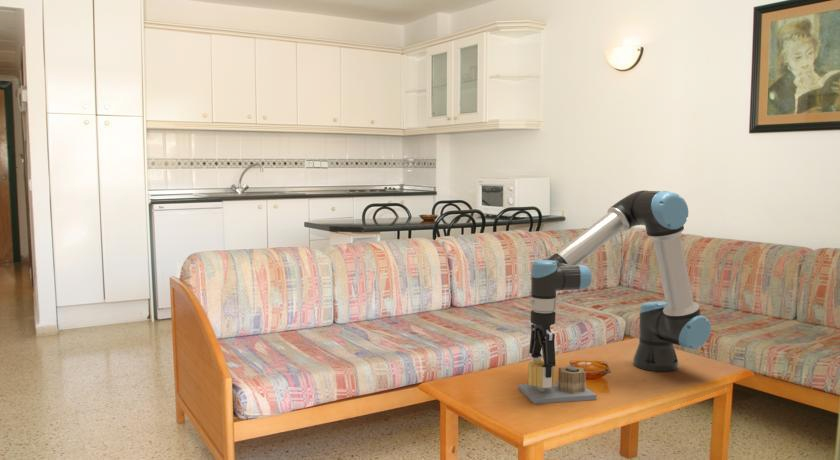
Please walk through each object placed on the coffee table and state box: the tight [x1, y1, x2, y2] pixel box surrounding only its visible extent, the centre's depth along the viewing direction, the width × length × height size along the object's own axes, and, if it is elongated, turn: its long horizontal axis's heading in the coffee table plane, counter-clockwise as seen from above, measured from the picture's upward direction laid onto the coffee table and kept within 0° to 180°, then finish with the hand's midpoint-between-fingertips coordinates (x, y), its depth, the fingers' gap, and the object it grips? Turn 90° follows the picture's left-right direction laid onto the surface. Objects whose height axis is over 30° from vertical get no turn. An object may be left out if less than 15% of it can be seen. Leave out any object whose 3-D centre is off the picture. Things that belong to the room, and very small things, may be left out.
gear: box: [557, 365, 587, 393], centre depth 214 cm, size 8×8×6 cm
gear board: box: [518, 366, 597, 405], centre depth 213 cm, size 20×14×8 cm
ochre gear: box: [527, 360, 556, 388], centre depth 212 cm, size 8×8×6 cm
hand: (541, 382), depth 212 cm, fingers closed on ochre gear, 8 cm apart
